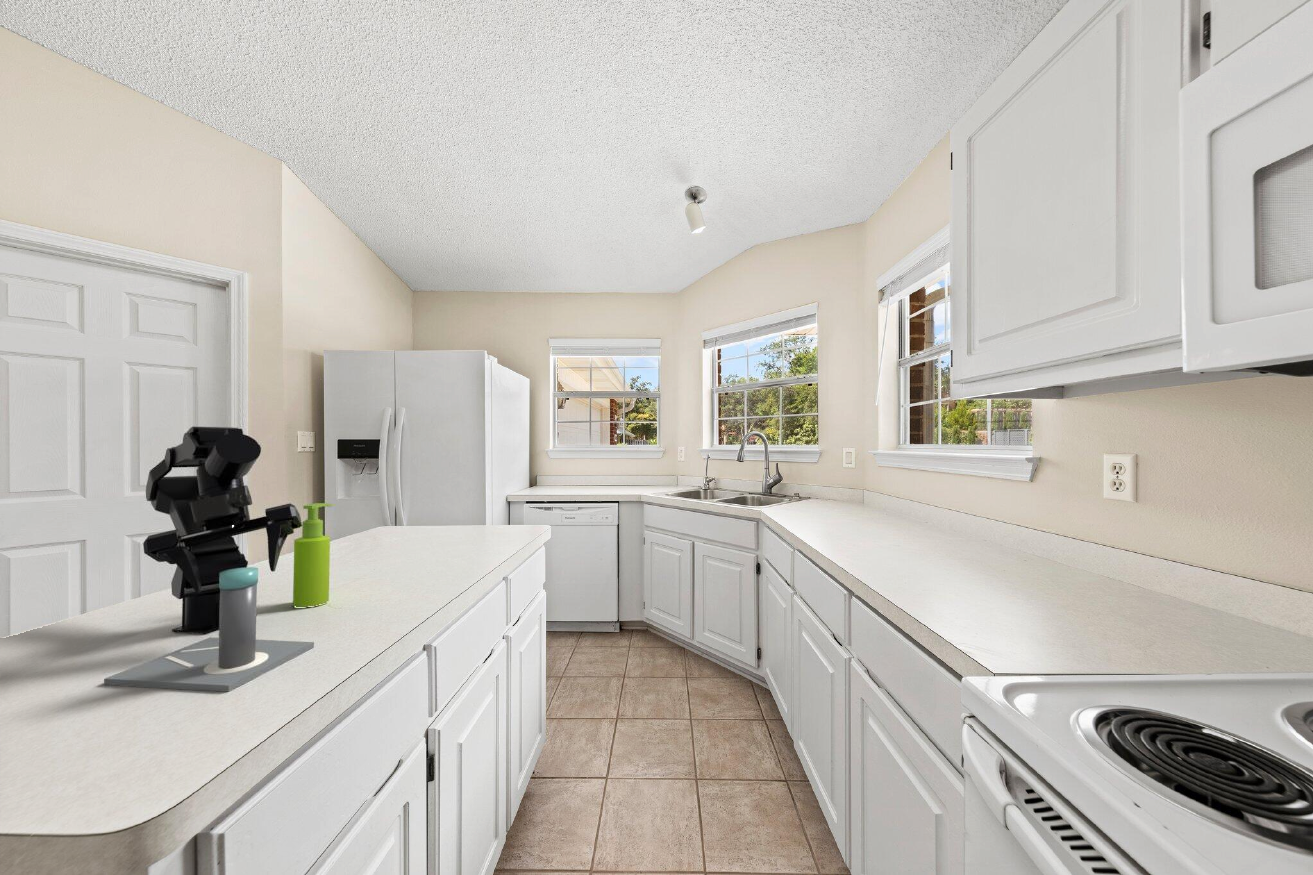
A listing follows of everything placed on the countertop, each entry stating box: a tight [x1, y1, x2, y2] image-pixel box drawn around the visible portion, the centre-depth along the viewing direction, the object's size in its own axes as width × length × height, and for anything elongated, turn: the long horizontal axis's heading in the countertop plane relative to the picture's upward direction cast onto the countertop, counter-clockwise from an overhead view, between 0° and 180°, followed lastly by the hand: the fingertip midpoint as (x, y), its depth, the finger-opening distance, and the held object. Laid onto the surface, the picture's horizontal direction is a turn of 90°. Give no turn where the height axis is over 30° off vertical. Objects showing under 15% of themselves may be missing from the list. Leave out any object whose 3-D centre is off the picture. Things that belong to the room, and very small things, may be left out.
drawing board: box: [103, 636, 315, 693], centre depth 71 cm, size 18×14×1 cm
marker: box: [218, 566, 259, 669], centre depth 69 cm, size 4×4×13 cm
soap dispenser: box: [292, 502, 333, 607], centre depth 98 cm, size 6×7×20 cm
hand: (236, 581), depth 77 cm, fingers open, 9 cm apart
